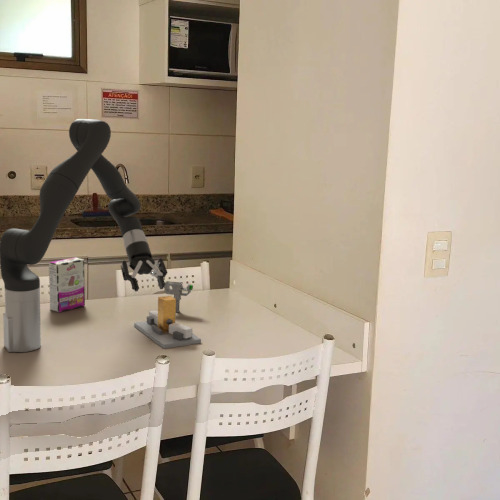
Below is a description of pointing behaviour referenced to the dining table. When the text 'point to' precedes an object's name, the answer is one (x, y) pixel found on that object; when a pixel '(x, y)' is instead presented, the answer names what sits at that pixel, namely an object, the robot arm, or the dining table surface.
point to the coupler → (166, 312)
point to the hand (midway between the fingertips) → (149, 289)
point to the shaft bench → (173, 338)
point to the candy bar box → (66, 284)
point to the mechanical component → (177, 291)
